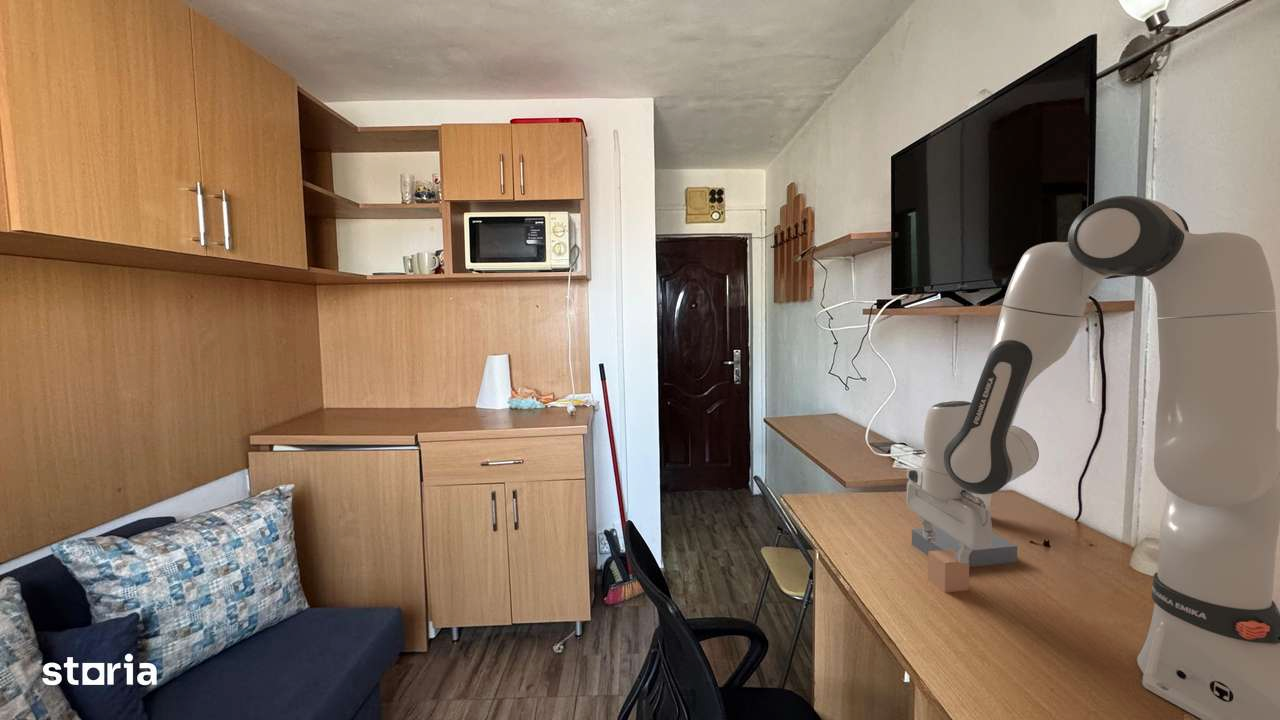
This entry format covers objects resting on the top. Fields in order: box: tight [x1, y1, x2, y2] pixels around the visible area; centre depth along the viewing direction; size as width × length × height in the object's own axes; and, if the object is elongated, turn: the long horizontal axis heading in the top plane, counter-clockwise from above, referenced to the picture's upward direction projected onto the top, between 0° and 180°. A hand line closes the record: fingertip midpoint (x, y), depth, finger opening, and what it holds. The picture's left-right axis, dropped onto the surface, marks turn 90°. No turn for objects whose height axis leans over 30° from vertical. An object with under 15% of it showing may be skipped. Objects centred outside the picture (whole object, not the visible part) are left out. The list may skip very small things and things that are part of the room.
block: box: [927, 549, 970, 593], centre depth 105 cm, size 5×5×6 cm
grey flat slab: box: [911, 526, 1018, 568], centre depth 118 cm, size 12×16×4 cm
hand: (944, 550), depth 105 cm, fingers open, 8 cm apart
